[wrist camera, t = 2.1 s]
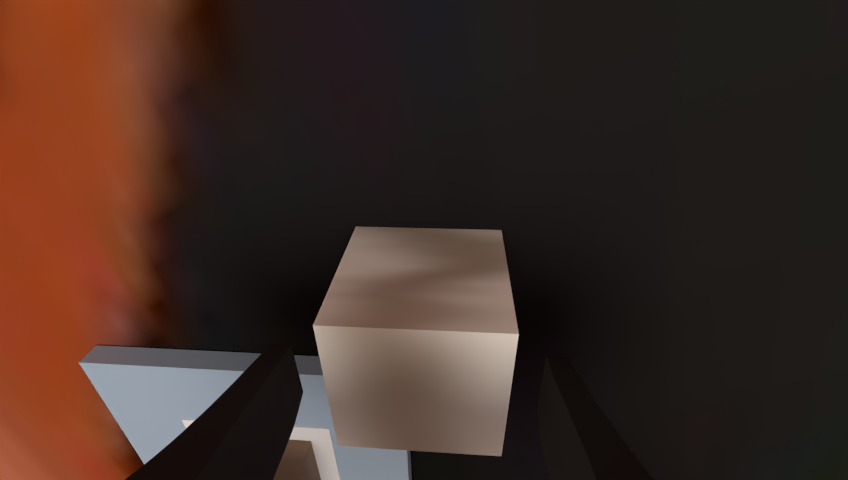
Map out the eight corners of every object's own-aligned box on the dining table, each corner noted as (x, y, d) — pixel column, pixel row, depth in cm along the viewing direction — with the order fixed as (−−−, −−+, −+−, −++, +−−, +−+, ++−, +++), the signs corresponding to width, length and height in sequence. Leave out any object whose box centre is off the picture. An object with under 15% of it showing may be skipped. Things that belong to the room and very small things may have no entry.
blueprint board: (405, 360, 18) (402, 381, 17) (414, 523, 25) (412, 543, 24) (96, 345, 19) (77, 363, 18) (191, 505, 26) (181, 524, 25)
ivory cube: (501, 229, 14) (518, 333, 10) (491, 336, 17) (501, 456, 12) (356, 225, 14) (313, 325, 10) (368, 331, 17) (337, 445, 13)
